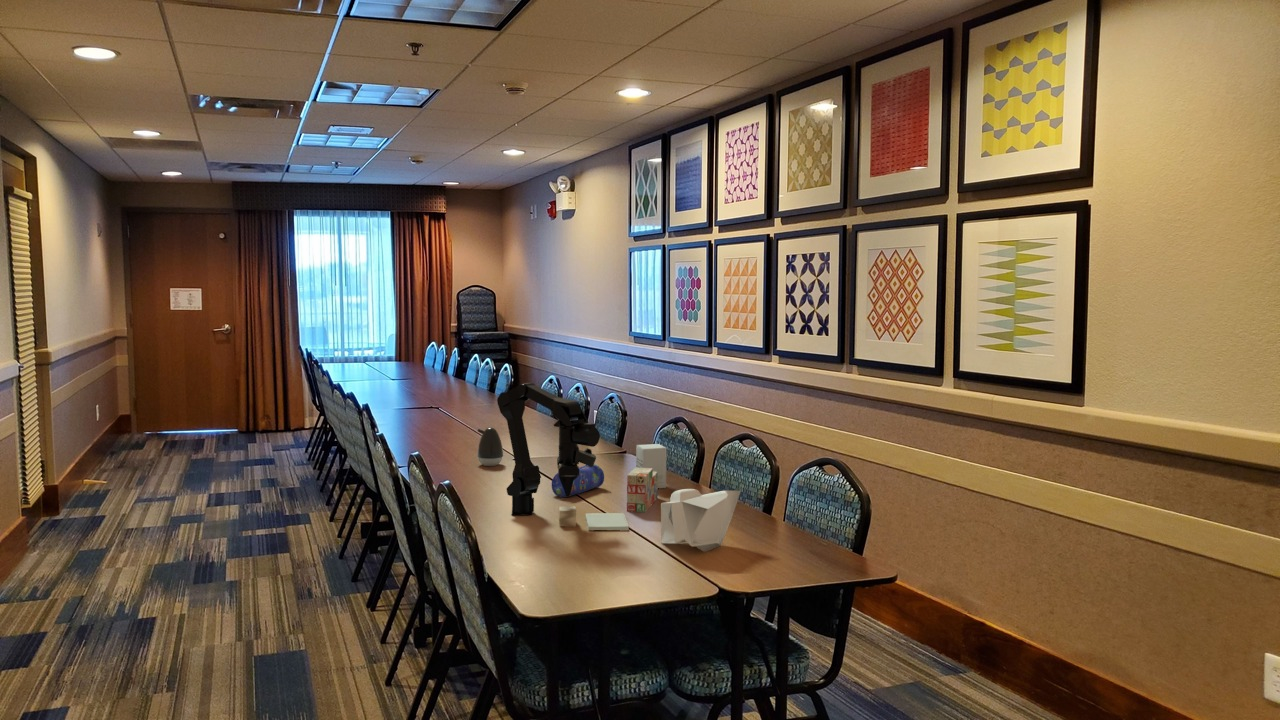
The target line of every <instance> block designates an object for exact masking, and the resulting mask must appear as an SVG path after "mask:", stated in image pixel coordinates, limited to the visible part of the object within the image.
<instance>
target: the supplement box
mask: <svg viewBox="0 0 1280 720" xmlns="http://www.w3.org/2000/svg"><path fill="white" fill-rule="evenodd" d="M635 448H636V450H635V453H636V454H635V455H636V456H635V467H636V468H653V472H657V481H658V488H659V489H667V447H666V446H663V445H662V444H659V443H652V444H636V447H635Z"/></svg>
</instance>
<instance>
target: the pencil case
mask: <svg viewBox="0 0 1280 720" xmlns="http://www.w3.org/2000/svg"><path fill="white" fill-rule="evenodd" d="M604 482H605V474H604V470H603V469H602V468H601V467H600V466H599V465H598V464H595V463H594V465H593V467H589V466H588V465H586V464H584V465H583V466H579V477H578V478H576V479H575V480H574V481H573V485H572V490H571V494H570V495H571V496H574V495H578V494H582V493H585V492H587V491H589V490H593V489H595V488H600V487H601V486H603V484H604ZM551 490H552V492H553V493H554V495H555V496H557V497H558V496H560V497H559V498H566V494H565V492H564V489H563V486H562V484H561V481H560V479H559V475H558V472H557V473H555V475H554V476H553V478H552V480H551Z"/></svg>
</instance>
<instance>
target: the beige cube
mask: <svg viewBox="0 0 1280 720" xmlns="http://www.w3.org/2000/svg"><path fill="white" fill-rule="evenodd" d="M558 525H559V526H565V527H577V507H576V506H574V505H572V506H571V505H570V506H558Z"/></svg>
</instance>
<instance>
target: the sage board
mask: <svg viewBox="0 0 1280 720" xmlns="http://www.w3.org/2000/svg"><path fill="white" fill-rule="evenodd" d="M585 520H587V521H586V526H587V525H588V526H587V530H620V531H629V524H628V521H627V519H626V516H625V513H624V512H613V513H612V512H608V513H606V512H602V513H601V512H600V513H597V512H596V513H592V512H591V513H585Z"/></svg>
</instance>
